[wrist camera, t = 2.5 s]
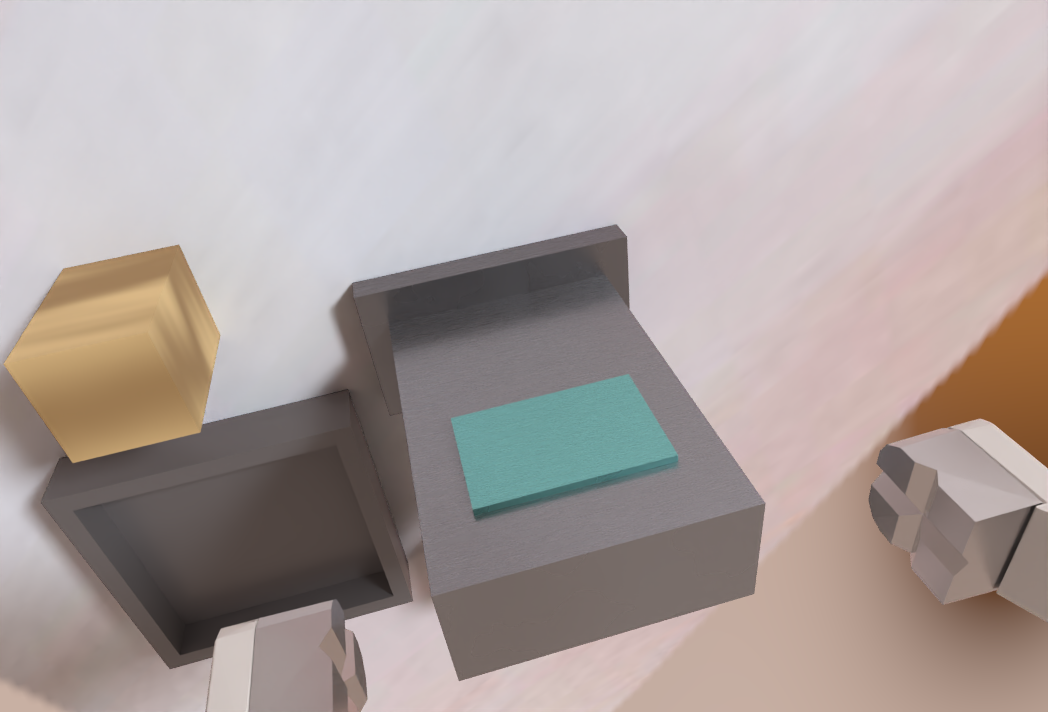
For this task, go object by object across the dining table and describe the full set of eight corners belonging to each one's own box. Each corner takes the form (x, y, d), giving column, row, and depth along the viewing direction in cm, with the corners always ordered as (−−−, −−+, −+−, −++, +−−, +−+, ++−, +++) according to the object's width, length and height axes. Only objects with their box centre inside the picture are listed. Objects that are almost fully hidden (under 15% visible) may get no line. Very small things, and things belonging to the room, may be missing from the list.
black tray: (59, 459, 29) (40, 502, 27) (348, 389, 31) (350, 426, 29) (178, 624, 36) (169, 669, 34) (407, 562, 38) (412, 601, 36)
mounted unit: (352, 283, 28) (376, 570, 17) (616, 224, 29) (806, 453, 18) (387, 398, 31) (427, 700, 20) (622, 341, 33) (783, 594, 21)
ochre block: (63, 268, 25) (3, 364, 20) (178, 244, 25) (147, 332, 21) (115, 358, 27) (72, 463, 23) (220, 334, 28) (200, 432, 23)
